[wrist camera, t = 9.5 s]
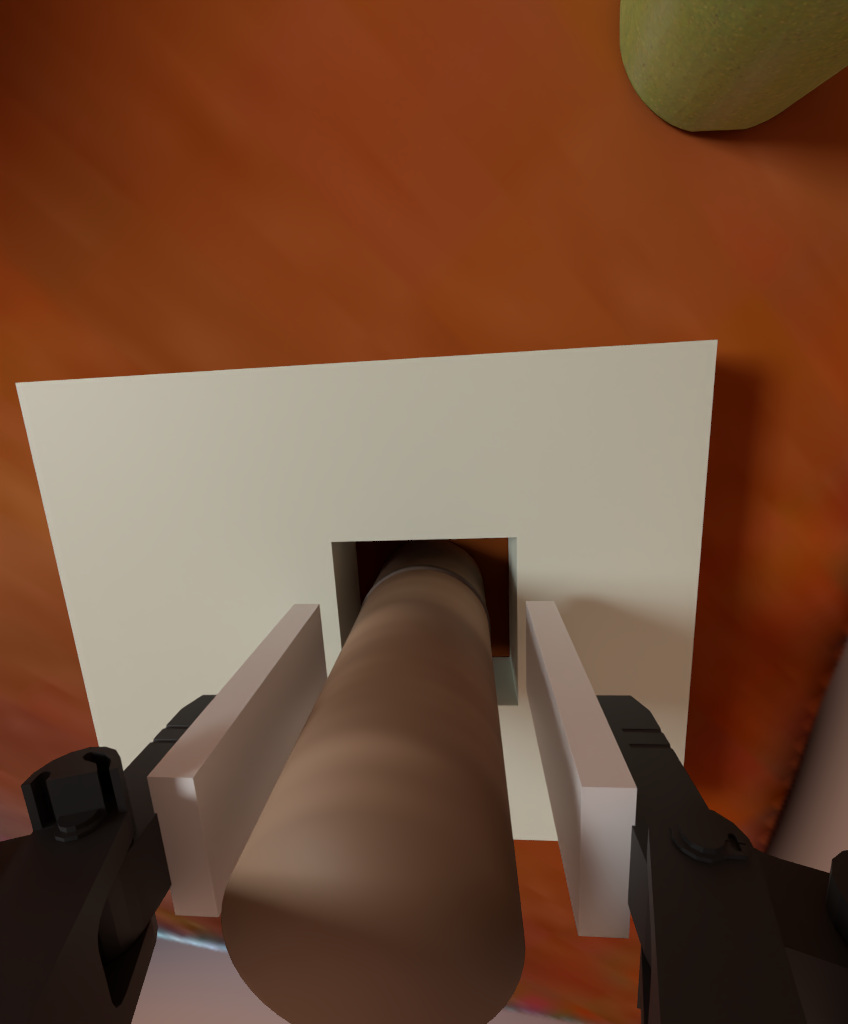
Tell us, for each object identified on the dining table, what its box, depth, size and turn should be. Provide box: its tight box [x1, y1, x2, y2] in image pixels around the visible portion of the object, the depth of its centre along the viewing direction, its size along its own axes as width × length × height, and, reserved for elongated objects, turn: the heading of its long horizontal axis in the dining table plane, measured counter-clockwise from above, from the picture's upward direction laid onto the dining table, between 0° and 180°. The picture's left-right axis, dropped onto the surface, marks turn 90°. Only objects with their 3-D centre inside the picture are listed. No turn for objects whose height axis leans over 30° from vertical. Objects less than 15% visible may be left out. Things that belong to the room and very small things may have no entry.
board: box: [15, 340, 718, 841], centre depth 17 cm, size 20×16×3 cm
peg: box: [221, 539, 525, 1024], centre depth 12 cm, size 4×4×12 cm
